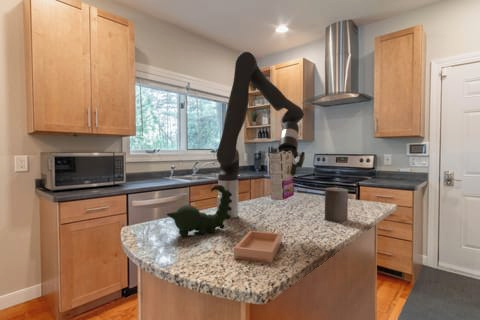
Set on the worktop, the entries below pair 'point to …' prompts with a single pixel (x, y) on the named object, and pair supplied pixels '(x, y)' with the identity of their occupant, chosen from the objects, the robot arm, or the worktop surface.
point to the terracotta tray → (258, 246)
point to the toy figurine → (202, 216)
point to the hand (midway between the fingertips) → (284, 173)
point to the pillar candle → (336, 204)
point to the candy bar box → (281, 175)
